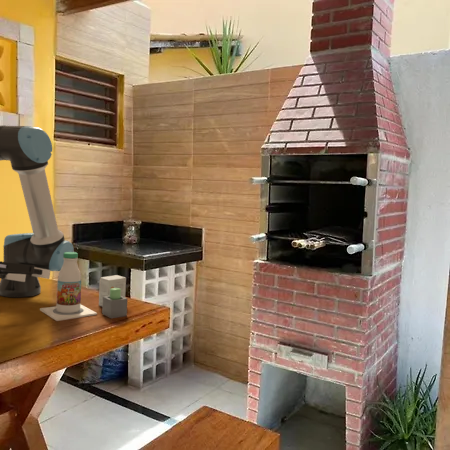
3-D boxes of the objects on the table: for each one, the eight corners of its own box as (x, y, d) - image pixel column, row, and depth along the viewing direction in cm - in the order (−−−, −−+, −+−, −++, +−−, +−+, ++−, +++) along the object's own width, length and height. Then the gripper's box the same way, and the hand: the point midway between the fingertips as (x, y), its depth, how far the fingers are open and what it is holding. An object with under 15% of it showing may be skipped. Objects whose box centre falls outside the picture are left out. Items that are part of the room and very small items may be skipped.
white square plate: (39, 310, 158) (39, 308, 158) (78, 304, 167) (78, 303, 167) (56, 321, 148) (56, 318, 147) (96, 314, 157) (96, 312, 157)
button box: (102, 313, 158) (103, 296, 158) (117, 311, 162) (118, 294, 162) (110, 318, 154) (111, 300, 153) (126, 315, 158) (127, 298, 157)
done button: (107, 302, 158) (108, 288, 157) (117, 301, 160) (117, 287, 160) (112, 305, 155) (113, 290, 155) (122, 304, 158) (123, 289, 157)
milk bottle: (52, 309, 157) (54, 251, 155) (73, 306, 163) (76, 250, 161) (62, 315, 152) (65, 255, 150) (84, 311, 157) (86, 253, 155)
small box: (115, 302, 174) (117, 274, 174) (125, 305, 171) (126, 277, 170) (98, 305, 168) (99, 277, 167) (107, 308, 165) (108, 280, 164)
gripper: (-53, 280, 139) (13, 290, 156) (-9, 274, 125) (58, 285, 142) (-48, 256, 141) (17, 268, 158) (-4, 247, 127) (61, 261, 144)
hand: (36, 276), depth 150 cm, fingers open, 13 cm apart
